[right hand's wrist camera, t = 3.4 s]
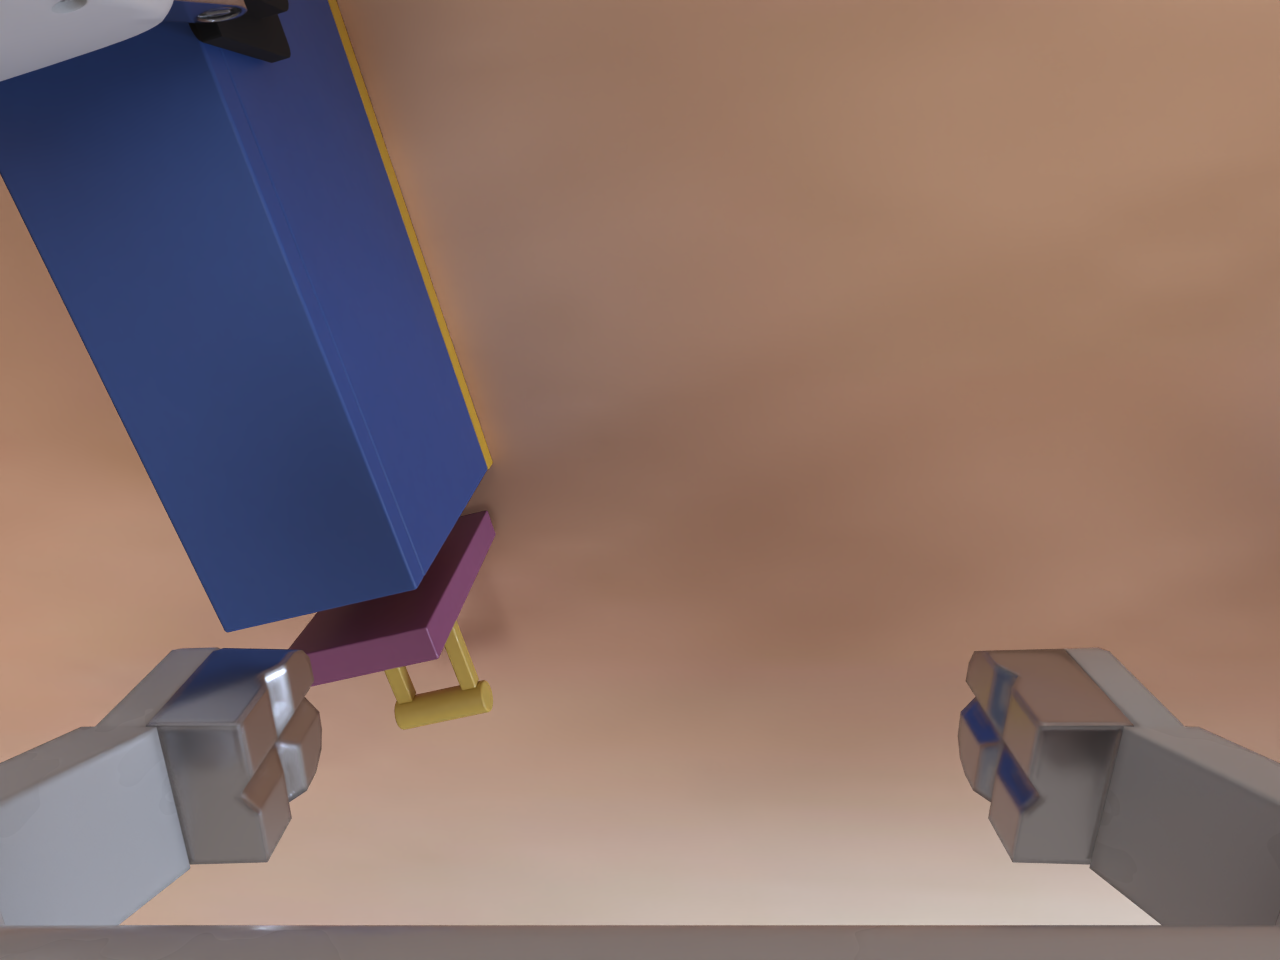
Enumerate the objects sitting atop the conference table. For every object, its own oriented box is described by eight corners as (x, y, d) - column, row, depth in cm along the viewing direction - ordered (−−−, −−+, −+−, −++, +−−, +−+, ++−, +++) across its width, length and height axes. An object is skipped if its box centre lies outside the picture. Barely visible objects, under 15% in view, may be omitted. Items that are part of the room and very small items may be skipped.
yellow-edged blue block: (492, 462, 35) (417, 590, 24) (356, 495, 36) (224, 634, 25) (320, -46, 29) (114, -182, 18) (159, 6, 30) (-134, -95, 19)
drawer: (530, 633, 37) (487, 783, 28) (425, 656, 38) (349, 811, 28) (338, 80, 29) (192, 36, 20) (209, 119, 30) (11, 93, 21)
